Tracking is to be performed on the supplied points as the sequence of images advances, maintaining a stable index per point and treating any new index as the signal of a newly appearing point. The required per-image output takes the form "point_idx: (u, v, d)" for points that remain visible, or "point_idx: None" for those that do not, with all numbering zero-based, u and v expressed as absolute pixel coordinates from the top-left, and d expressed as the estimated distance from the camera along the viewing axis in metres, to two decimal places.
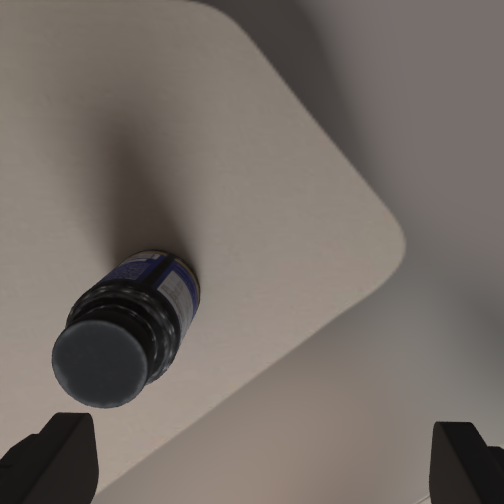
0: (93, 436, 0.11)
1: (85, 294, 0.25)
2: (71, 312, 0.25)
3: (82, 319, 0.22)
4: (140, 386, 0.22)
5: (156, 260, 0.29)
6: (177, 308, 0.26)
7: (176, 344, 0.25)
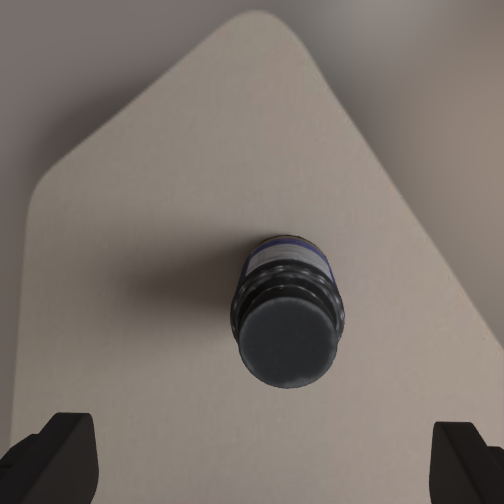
0: (93, 436, 0.11)
1: None
2: None
3: None
4: (314, 307, 0.22)
5: None
6: (270, 259, 0.26)
7: (298, 265, 0.24)
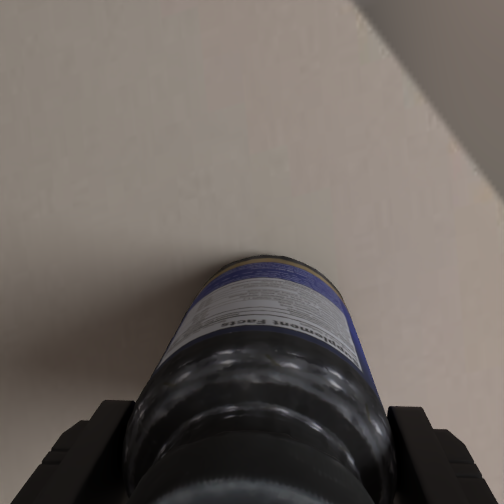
0: None
1: None
2: None
3: None
4: None
5: None
6: (212, 324, 0.11)
7: (273, 345, 0.10)
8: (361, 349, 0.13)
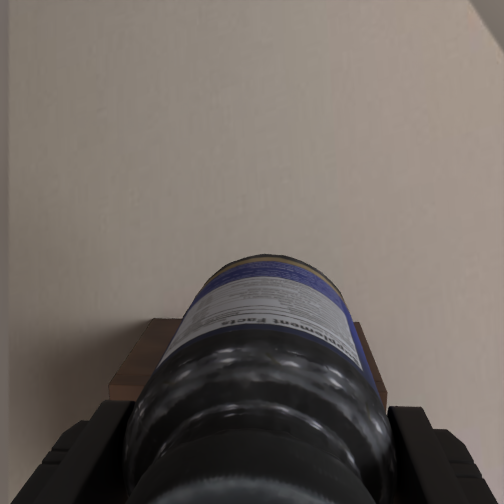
0: None
1: None
2: None
3: None
4: None
5: None
6: (213, 323, 0.11)
7: (273, 343, 0.10)
8: (361, 348, 0.13)
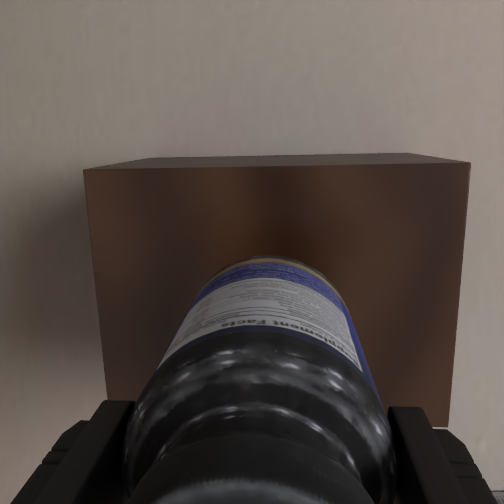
0: None
1: None
2: None
3: None
4: None
5: None
6: (212, 324, 0.11)
7: (273, 345, 0.10)
8: (361, 349, 0.13)
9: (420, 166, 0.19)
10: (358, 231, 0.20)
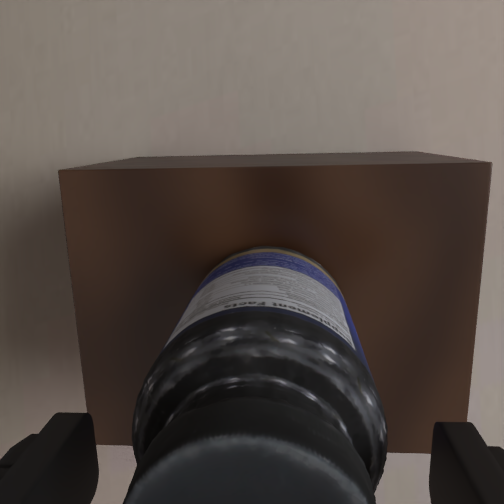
0: (93, 436, 0.11)
1: None
2: None
3: None
4: (311, 460, 0.08)
5: None
6: (216, 306, 0.12)
7: (272, 323, 0.10)
8: (355, 332, 0.14)
9: (435, 166, 0.17)
10: (365, 239, 0.18)
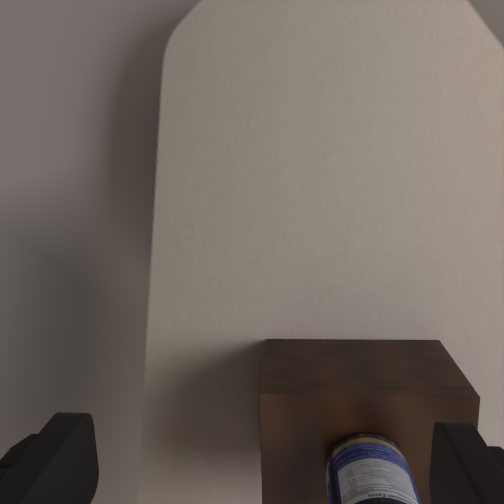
0: (93, 436, 0.11)
1: None
2: None
3: None
4: None
5: (329, 479, 0.34)
6: (363, 493, 0.29)
7: None
8: (417, 495, 0.31)
9: (451, 398, 0.34)
10: (416, 429, 0.35)
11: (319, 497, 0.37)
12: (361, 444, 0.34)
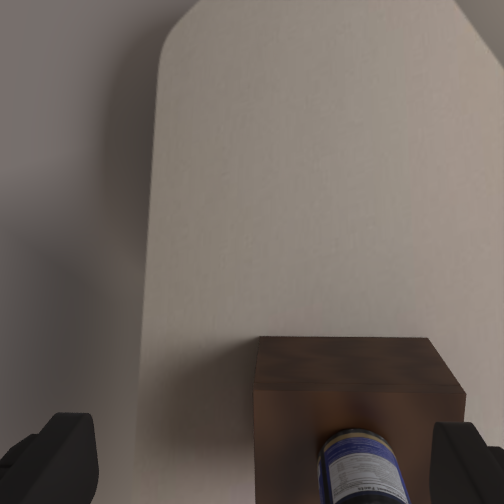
0: (93, 436, 0.11)
1: None
2: None
3: None
4: None
5: (320, 473, 0.35)
6: (353, 486, 0.31)
7: (381, 502, 0.29)
8: (405, 487, 0.32)
9: (439, 394, 0.35)
10: (404, 425, 0.36)
11: (310, 490, 0.38)
12: (351, 439, 0.35)
